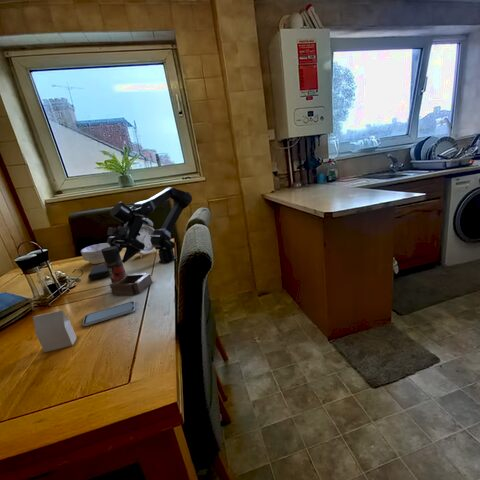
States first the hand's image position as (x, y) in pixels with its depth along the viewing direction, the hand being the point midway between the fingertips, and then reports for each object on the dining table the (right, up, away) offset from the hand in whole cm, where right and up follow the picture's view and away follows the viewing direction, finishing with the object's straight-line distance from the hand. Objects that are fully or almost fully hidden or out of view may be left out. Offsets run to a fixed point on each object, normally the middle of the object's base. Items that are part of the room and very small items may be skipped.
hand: (116, 261), depth 115 cm
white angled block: (+5, -23, -38) cm, 45 cm away
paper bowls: (-26, 0, +35) cm, 43 cm away
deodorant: (0, -9, +2) cm, 9 cm away
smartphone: (+11, -17, -24) cm, 32 cm away
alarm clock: (-3, +4, +37) cm, 37 cm away
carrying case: (-13, -6, +14) cm, 21 cm away
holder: (+10, -11, -6) cm, 15 cm away
